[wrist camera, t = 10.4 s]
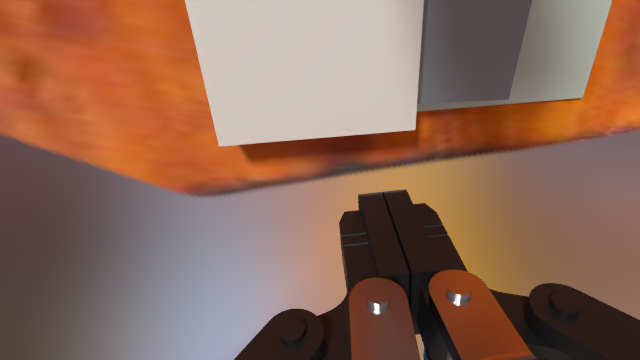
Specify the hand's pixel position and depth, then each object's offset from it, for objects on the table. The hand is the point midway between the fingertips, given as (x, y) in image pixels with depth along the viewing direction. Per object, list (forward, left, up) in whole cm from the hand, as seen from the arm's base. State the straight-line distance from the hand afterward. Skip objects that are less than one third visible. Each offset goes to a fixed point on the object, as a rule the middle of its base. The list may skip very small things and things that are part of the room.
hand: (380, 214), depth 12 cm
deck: (+1, -2, -22) cm, 22 cm away
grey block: (-7, +8, -22) cm, 24 cm away
